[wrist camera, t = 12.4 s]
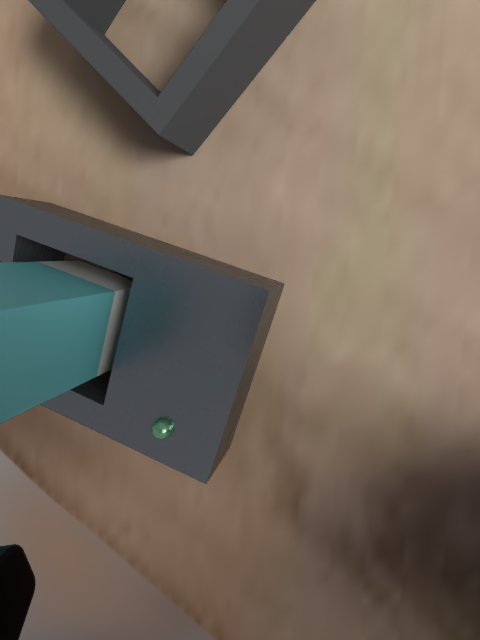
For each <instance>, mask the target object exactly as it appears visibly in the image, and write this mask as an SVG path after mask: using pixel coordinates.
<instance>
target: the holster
mask: <svg viewBox="0 0 480 640" xmlns="http://www.w3.org/2000/svg"><path fill="white" fill-rule="evenodd" d="M29 1H30V2H31V3H32V5H33V6H34V7H35V8H36V9H37V10H38V11H39V12H40V13H41V14H42V15H43V16H44V17H45V18H46V19H47V20H48V21H49V22H50V23H51V24H52V25H53V26H54V27H55V28H56V29H57V30H58V31H59V32H60V33H61V34H62V36H63V37H64V38H65V39H66V40H67V41H68V42H69V43H70V44H71V45H72V46H73V47H74V48H75V49H76V50H77V51H78V52H79V53H80V54H81V55H82V56H83V57H84V58H85V59H86V60H87V61H88V62H89V63H90V64H91V66H92V67H93V68H94V69H95V70H96V71H97V72H98V73H99V74H100V75H101V76H102V77H103V78H104V79H105V80H106V81H107V82H108V83H109V84H110V85H111V86H112V87H113V88H114V89H115V90H116V91H117V92H118V93H119V94H120V96H121V97H122V98H123V99H124V100H125V101H126V102H127V103H128V104H129V105H130V106H131V107H132V108H133V109H134V110H135V111H136V112H137V113H138V114H139V115H140V116H141V117H142V118H143V119H144V120H145V121H146V122H147V123H148V124H149V126H150V127H151V128H152V129H153V130H154V131H155V132H156V133H157V134H158V135H159V136H161V137H163V138H164V139H166V140H168V141H169V142H171V143H173V144H174V145H176V146H178V147H179V148H181V149H183V150H184V151H186V152H188V153H189V154H191V155H193V154H194V153H195V152H196V151H197V149H198V148H199V147H200V146H201V144H202V143H203V142H204V141H205V139H206V138H207V137H208V136H209V134H210V133H211V132H212V130H213V129H214V128H215V127H216V125H217V124H218V123H219V122H220V120H221V119H222V118H223V117H224V115H225V114H226V113H227V112H228V110H229V109H230V108H231V107H232V105H233V104H234V103H235V102H236V100H237V99H238V98H239V97H240V95H241V94H242V93H243V91H244V90H245V89H246V88H247V86H248V85H249V84H250V83H251V81H252V80H253V79H254V78H255V76H256V75H257V74H258V73H259V71H260V70H261V69H262V68H263V66H264V65H265V64H266V63H267V61H268V60H269V59H270V57H271V56H272V55H273V54H274V52H275V51H276V50H277V49H278V47H279V46H280V45H281V44H282V42H283V41H284V40H285V39H286V37H287V36H288V35H289V34H290V32H291V31H292V30H293V29H294V27H295V26H296V25H297V23H298V22H299V21H300V20H301V18H302V17H303V16H304V15H305V13H306V12H307V11H308V10H309V8H310V7H311V6H312V5H313V3H314V2H315V1H316V0H227V1H226V2H225V4H224V5H223V7H222V8H221V9H220V11H219V12H218V14H217V15H216V16H215V18H214V19H213V21H212V22H211V23H210V25H209V26H208V28H207V29H206V30H205V32H204V33H203V34H202V36H201V37H200V39H199V40H198V41H197V43H196V44H195V46H194V47H193V48H192V50H191V51H190V53H189V54H188V55H187V57H186V58H185V60H184V61H183V62H182V64H181V65H180V67H179V68H178V69H177V71H176V72H175V74H174V75H173V76H172V78H171V79H170V81H169V82H168V83H167V85H166V86H165V88H164V89H163V90H162V92H161V93H160V92H159V91H158V90H157V89H156V88H155V86H154V85H153V84H152V83H151V82H150V81H149V80H148V79H147V78H146V77H145V76H144V75H143V74H142V73H141V72H140V71H139V70H138V69H137V68H136V67H135V66H134V65H133V64H132V63H131V62H130V61H129V60H128V59H127V58H126V57H125V56H124V55H123V54H122V53H121V52H120V51H119V50H118V49H117V48H116V47H115V46H114V45H113V44H112V43H111V42H110V40H109V39H108V38H107V37H106V36H105V35H104V34H105V32H106V31H107V29H108V27H109V26H110V24H111V23H112V21H113V19H114V18H115V16H116V15H117V13H118V11H119V10H120V8H121V7H122V5H123V3H124V2H125V0H29Z"/></svg>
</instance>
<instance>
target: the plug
mask: <svg viewBox="0 0 480 640" xmlns="http://www.w3.org/2000/svg"><path fill="white" fill-rule="evenodd" d="M132 282H133V280H130V279H128V278H125V277H122V276H119V275H117V274H114V273H111V272H109V271H106V270H103V269H101V268H98V267H95V266H93V265H90V264H87V263H85V262H82V261H79V260H73V261H41V262H9V263H0V423H2V422H4V421H6V420H9V419H11V418H13V417H15V416H17V415H19V414H21V413H23V412H25V411H27V410H29V409H31V408H33V407H35V406H37V405H39V404H41V403H43V402H46V401H48V400H50V399H52V398H54V397H56V396H58V395H60V394H62V393H64V392H66V391H68V390H70V389H72V388H74V387H76V386H78V385H80V384H83V383H85V382H87V381H89V380H91V379H93V378H95V377H97V376H99V375H101V374H103V373H105V372H107V371H109V370H111V369H112V367H113V363H114V359H115V354H116V350H117V346H118V342H119V337H120V333H121V329H122V325H123V320H124V316H125V312H126V307H127V303H128V299H129V295H130V290H131V286H132Z"/></svg>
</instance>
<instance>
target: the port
mask: <svg viewBox="0 0 480 640" xmlns="http://www.w3.org/2000/svg"><path fill="white" fill-rule="evenodd" d="M65 253H68V254H70V255H73V256H76V257H78V258H81V259H84V260H86V261H89V262H92V263H94V264H97V265H100V266H102V267H105V268H108V269H110V270H113V271H116V272H118V273H121V274H124V275H126V276H129V277H132V278H133V282H132V286H131V290H130V295H129V299H128V303H127V307H126V312H125V316H124V320H123V325H122V329H121V333H120V337H119V342H118V346H117V350H116V354H115V359H114V363H113V367H112V370H109V371H107V372H105V373H103V374H101V375H99V376H97V377H95V378H93V379H91V380H89V381H87V382H85V383H83V384H80V385H78V386H76V387H74V388H72V389H70V390H68V391H66V392H64V393H62V394H60V395H58V396H56V397H54V398H52V399H50V400H48V401H46V402H43V403H41V405H43V406H45V407H47V408H49V409H51V410H53V411H55V412H57V413H59V414H61V415H63V416H65V417H68V418H70V419H72V420H74V421H76V422H78V423H80V424H82V425H84V426H86V427H88V428H90V429H92V430H95V431H97V432H99V433H101V434H103V435H105V436H107V437H109V438H111V439H113V440H115V441H117V442H119V443H122V444H124V445H126V446H128V447H130V448H132V449H134V450H136V451H138V452H140V453H142V454H144V455H146V456H149V457H151V458H153V459H155V460H157V461H159V462H161V463H163V464H165V465H167V466H169V467H171V468H173V469H176V470H178V471H180V472H182V473H184V474H186V475H188V476H190V477H192V478H194V479H196V480H198V481H200V482H203V483H205V484H207V482H208V481H209V479H210V478H211V476H212V474H213V473H214V471H215V470H216V468H217V466H218V465H219V463H220V462H221V460H222V459H223V457H224V455H225V454H226V452H227V451H228V449H229V447H230V444H231V441H232V438H233V435H234V432H235V429H236V426H237V423H238V420H239V417H240V414H241V412H242V409H243V406H244V403H245V400H246V397H247V394H248V391H249V388H250V385H251V382H252V379H253V376H254V373H255V370H256V367H257V364H258V361H259V358H260V355H261V352H262V349H263V346H264V343H265V340H266V337H267V334H268V331H269V329H270V326H271V323H272V320H273V317H274V314H275V311H276V308H277V305H278V302H279V299H280V296H281V293H282V290H283V287H284V283H281V282H278V281H275V280H272V279H269V278H266V277H263V276H261V275H258V274H255V273H252V272H249V271H246V270H243V269H240V268H237V267H234V266H232V265H229V264H226V263H223V262H220V261H217V260H214V259H211V258H208V257H206V256H203V255H200V254H197V253H194V252H191V251H188V250H185V249H182V248H179V247H177V246H174V245H171V244H168V243H165V242H162V241H159V240H156V239H153V238H151V237H148V236H145V235H142V234H139V233H136V232H133V231H130V230H127V229H125V228H122V227H119V226H116V225H113V224H110V223H107V222H104V221H101V220H98V219H96V218H93V217H90V216H87V215H84V214H81V213H78V212H75V211H72V210H70V209H67V208H64V207H61V206H58V205H55V204H52V203H48V202H41V201H35V200H29V199H23V198H17V197H10V196H4V195H0V263H9V262H41V261H63V260H64V255H65Z"/></svg>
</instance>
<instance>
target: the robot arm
mask: <svg viewBox="0 0 480 640" xmlns="http://www.w3.org/2000/svg"><path fill="white" fill-rule="evenodd" d="M34 590H35V576H34V574H33V571H32V569H31V567H30V564H29V562H28V560H27V557H26V555H25V553H24V550H23V549H22V547H20V546H19V545H16V544H15V545H14V544H13V545H6V546H0V640H18V639H19V636H20V633H21V630H22V627H23V624H24V621H25V618H26V615H27V612H28V609H29V606H30V603H31V600H32V597H33V594H34Z"/></svg>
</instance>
